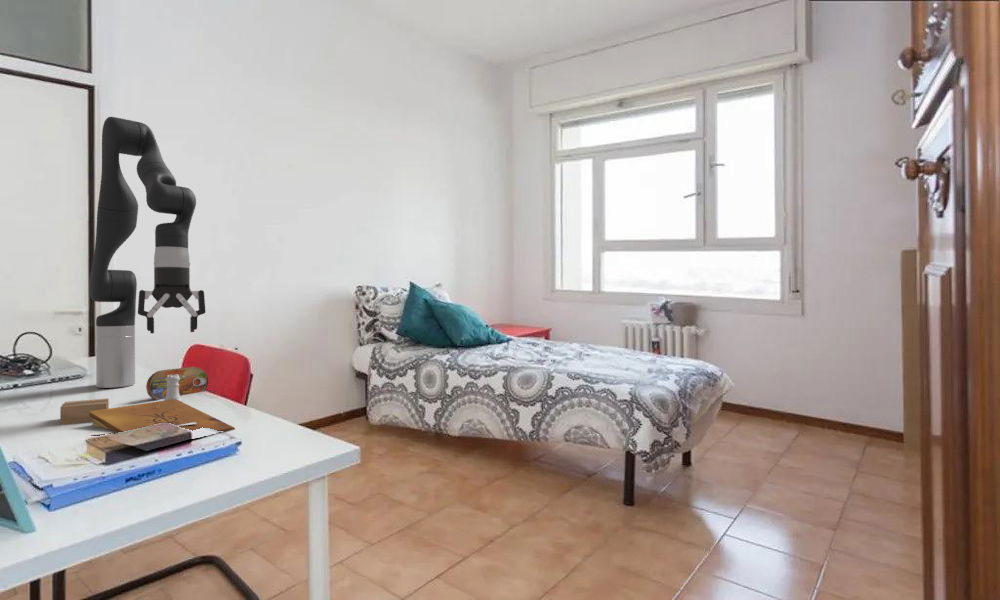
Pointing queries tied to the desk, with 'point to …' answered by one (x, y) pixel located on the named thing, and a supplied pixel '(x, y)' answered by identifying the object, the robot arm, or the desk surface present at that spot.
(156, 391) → the tin
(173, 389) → the rook chess piece
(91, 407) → the walnut block
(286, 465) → the desk surface
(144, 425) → the diary
